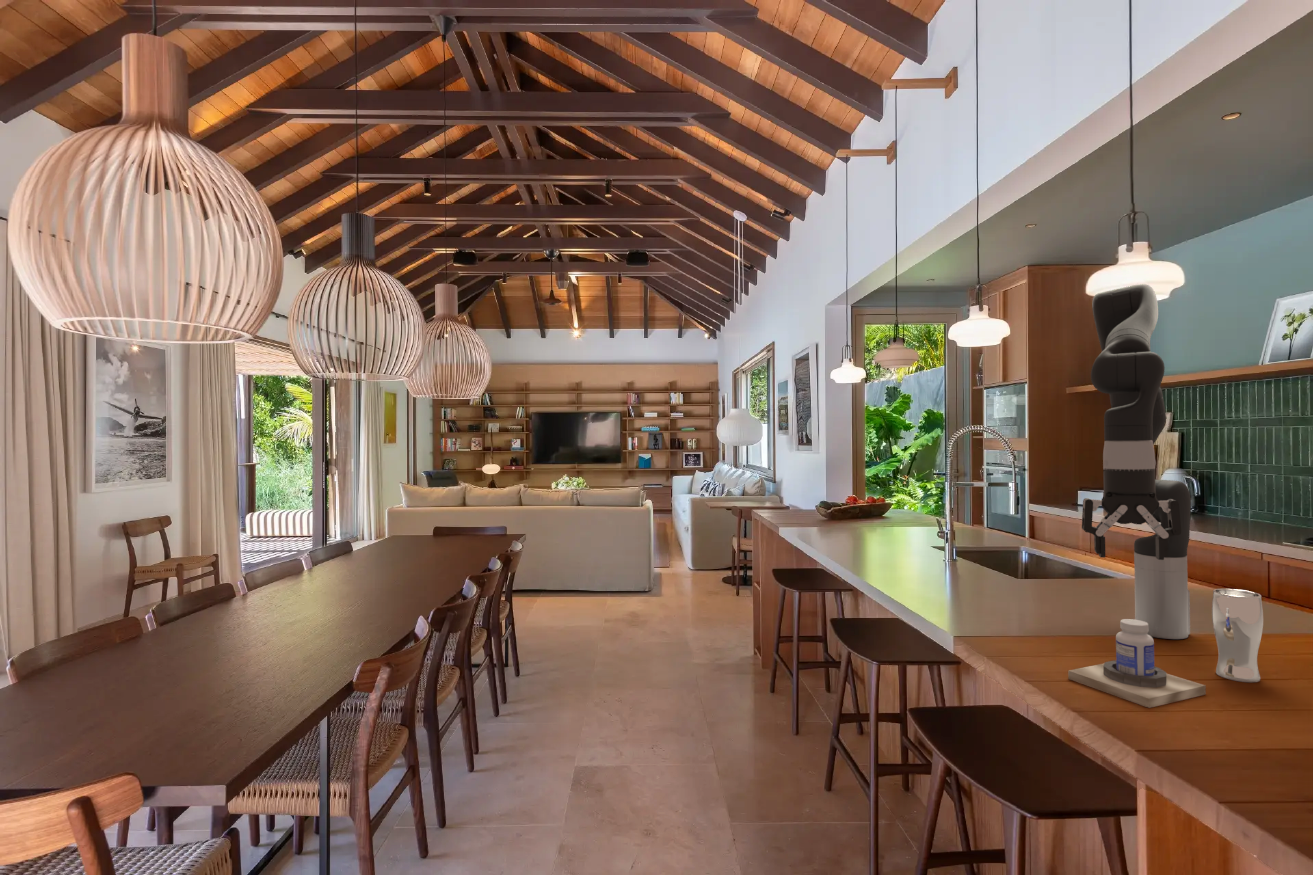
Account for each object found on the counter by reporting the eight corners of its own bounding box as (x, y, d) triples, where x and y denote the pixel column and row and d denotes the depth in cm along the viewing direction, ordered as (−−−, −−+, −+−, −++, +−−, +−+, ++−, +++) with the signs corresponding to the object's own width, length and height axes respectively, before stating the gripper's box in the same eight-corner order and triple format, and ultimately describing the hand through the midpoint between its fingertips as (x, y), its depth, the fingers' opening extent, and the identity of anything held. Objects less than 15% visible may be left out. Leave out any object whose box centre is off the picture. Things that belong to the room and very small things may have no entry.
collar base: (1122, 667, 127) (1122, 651, 127) (1205, 694, 114) (1205, 676, 114) (1068, 678, 122) (1068, 662, 122) (1149, 707, 109) (1148, 689, 109)
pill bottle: (1147, 673, 120) (1146, 618, 120) (1160, 684, 114) (1159, 627, 114) (1111, 671, 121) (1110, 616, 121) (1123, 682, 116) (1122, 625, 116)
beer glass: (1252, 671, 124) (1250, 589, 124) (1272, 685, 117) (1271, 598, 117) (1205, 668, 126) (1204, 587, 126) (1223, 681, 119) (1222, 595, 119)
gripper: (1171, 464, 121) (1173, 556, 121) (1078, 465, 126) (1079, 552, 127) (1184, 467, 114) (1186, 564, 114) (1085, 467, 119) (1086, 559, 120)
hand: (1130, 557), depth 120 cm, fingers open, 8 cm apart
